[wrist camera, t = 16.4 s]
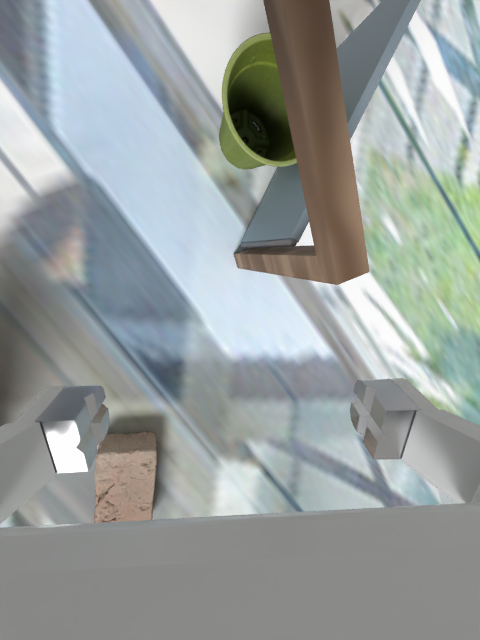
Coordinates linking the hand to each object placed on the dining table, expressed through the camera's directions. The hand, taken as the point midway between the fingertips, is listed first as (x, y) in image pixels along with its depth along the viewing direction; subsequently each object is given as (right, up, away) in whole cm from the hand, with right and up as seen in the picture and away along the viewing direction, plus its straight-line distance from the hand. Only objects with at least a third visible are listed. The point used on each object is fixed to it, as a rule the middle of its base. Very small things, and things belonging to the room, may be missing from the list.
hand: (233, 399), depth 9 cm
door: (+8, +26, +32) cm, 42 cm away
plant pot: (+1, +27, +31) cm, 41 cm away
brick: (-18, -23, +36) cm, 47 cm away
